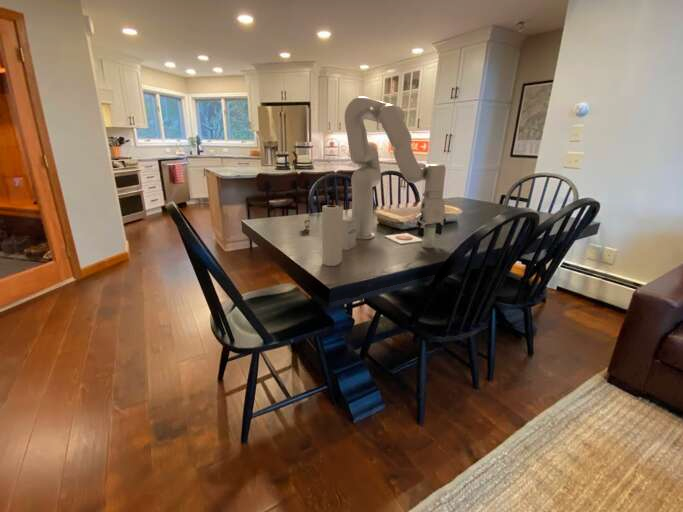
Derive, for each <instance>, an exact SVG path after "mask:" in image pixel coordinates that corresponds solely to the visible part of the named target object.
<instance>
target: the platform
mask: <svg viewBox="0 0 683 512" xmlns="http://www.w3.org/2000/svg"><path fill="white" fill-rule="evenodd" d="M302 223H303V226H304V227H305V233H306V234H307V231H309V230H310V226H312V225H313V221H312V220H311V219H310V217H307V219H303V222H302Z"/></svg>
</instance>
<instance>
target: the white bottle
mask: <svg viewBox="0 0 683 512" xmlns="http://www.w3.org/2000/svg"><path fill="white" fill-rule="evenodd" d="M356 223H357V218H353V217H352V216H345V215H343V238H342V251H346V250H347V251H348V250H350V249H353V248H355V247H356V244H357V243H356V242H357V239H356Z"/></svg>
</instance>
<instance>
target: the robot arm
mask: <svg viewBox="0 0 683 512" xmlns="http://www.w3.org/2000/svg"><path fill="white" fill-rule="evenodd" d="M364 120H368V121H372V122H375V123H378V124H380V125H381V126H382V129H383V131H384V133H385V134H386V137H387V139H388V141H389V143H390V145H391V147H392V152H393V155H394V159H395V162H396V164H397V166H398V169H399V170H400V173H401V175H402V177H403V178H404V179H405V180H406V182H408V183H411V184H413V183H418V182H422V181H424V192H422V197H423V198H422V200H421V204H420V209H419V214H417V215H416V216H414V218H413V220H414V224H415V225H416V227H417V236H418V237H419V238H422V237H423V236H424V225H425V224H426V223H428V224H429V223H435V224H436V229H435V234H437V235H442V231H443V226H444V225H445V222H446V221H447V218H448V213H446V212H445V211H446V209H445V205H446V204H445V198H443V197H444V189H445V188H444V186H445V179H446V169H447V168H446V166H445V165H444V164H442V163H430V164H429V163H423V162H418V160H417V158H416V157H415V154H414V152H413V149H412V134H411V133H410V131H409V128H408V127H407V124H406V122H405V112H404V110H403V109H402V108H401V107H400V106H399V105H396V104H392V103H387V102H383V101H380V100H377V99H374V98H371V97H367V96H364V95H363V96H362V95H361V96H356V97H355V98H353V99H352V100H351V101H350V102H349V103H348V104H347V106H346V108H345V111H344V126H345V130H346V136H347V145H348V151H349V157H350V160H351V161H352V163H353V164H356V165H359V168H357V169H356V170H354V172H353V173H352V175H351V180H350V182H351V183H350V185H351V193H352V196H351V197H352V200H351V201H352V202H351V203H352V205H351V206H352V207H351V208H352V209H351V217H353V218H357V223H356V240H372V239H374V238H375V232H372V231H373V230H372V227H373V226H372V225H373V212H374V211H373V210H374V209H373V208H374V193H373V192H374V191H373V187H376V186H377V185H378V184H379V183H380V182H381V179H382V178H381V177H382V172H381V167H380V166H381V165H380V164H381V163H380V160H379V153H378V149H377V148H376V146H375V145H374V144H373V143H371V142H369V141H368V135H367V134H368V132H367V129H366V126H365V123H364Z"/></svg>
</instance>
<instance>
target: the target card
mask: <svg viewBox="0 0 683 512" xmlns="http://www.w3.org/2000/svg"><path fill="white" fill-rule="evenodd" d="M385 237H386V239H388V240H389V241H393V242H394V243H396V244H399V245H401V246H402V245H407V244H409V245H410V244H415V243H416V244H417V243H422V238H421V237H419V236H418V237H417V236H415V235H412V234H410V233H408V232H405V233H398V234H388V235H384V238H385Z"/></svg>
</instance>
